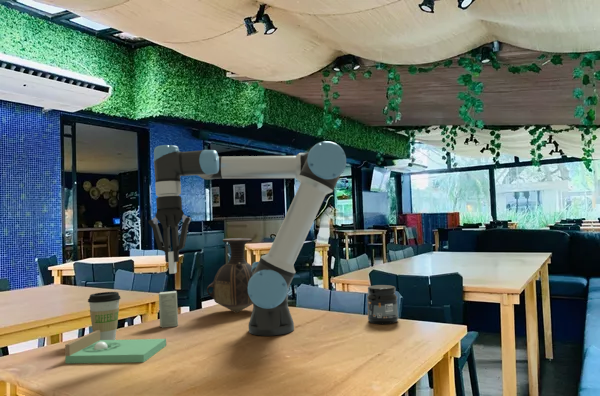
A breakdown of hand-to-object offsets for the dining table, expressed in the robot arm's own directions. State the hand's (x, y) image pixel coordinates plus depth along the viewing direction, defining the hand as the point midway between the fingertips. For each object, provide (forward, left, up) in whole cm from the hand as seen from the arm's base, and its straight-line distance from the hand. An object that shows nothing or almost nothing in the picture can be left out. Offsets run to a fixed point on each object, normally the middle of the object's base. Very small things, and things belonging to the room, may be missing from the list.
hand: (173, 273), depth 137 cm
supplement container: (-65, -26, -22) cm, 74 cm away
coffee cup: (+26, -7, -22) cm, 35 cm away
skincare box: (+12, -26, -22) cm, 36 cm away
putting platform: (+14, +8, -22) cm, 27 cm away
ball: (+19, +8, -20) cm, 29 cm away
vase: (-9, -47, -22) cm, 53 cm away
